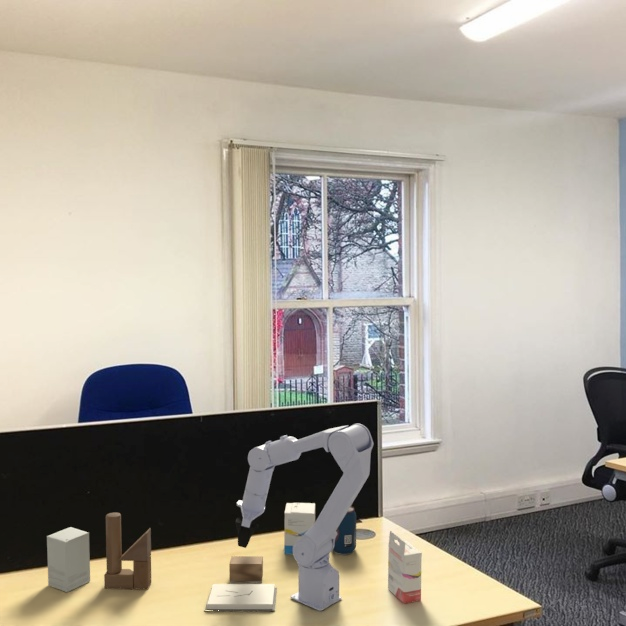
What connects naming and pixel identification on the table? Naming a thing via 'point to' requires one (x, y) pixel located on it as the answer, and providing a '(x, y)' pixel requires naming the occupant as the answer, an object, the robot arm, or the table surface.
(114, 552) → the wooden block
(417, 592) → the ink cartridge box
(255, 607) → the marked board
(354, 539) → the soda can
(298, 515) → the ink box
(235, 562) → the block
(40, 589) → the table surface
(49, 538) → the supplement box
